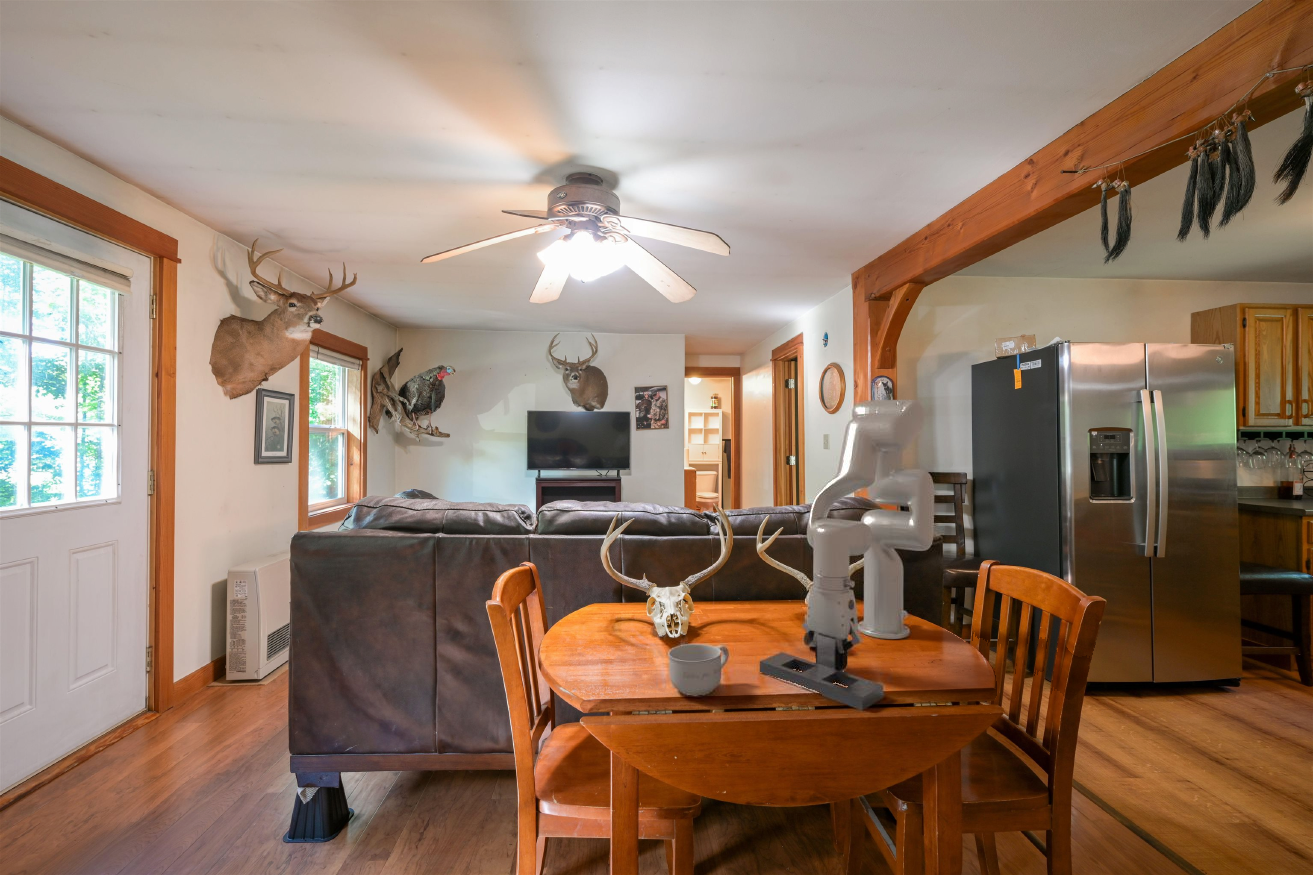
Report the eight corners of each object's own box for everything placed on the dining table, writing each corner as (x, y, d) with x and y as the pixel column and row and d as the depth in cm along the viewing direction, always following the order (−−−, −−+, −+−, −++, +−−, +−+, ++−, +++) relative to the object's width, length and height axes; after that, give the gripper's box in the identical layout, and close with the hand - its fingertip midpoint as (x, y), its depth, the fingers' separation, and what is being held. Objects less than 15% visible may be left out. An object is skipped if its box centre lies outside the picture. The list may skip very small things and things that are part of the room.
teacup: (682, 706, 115) (682, 664, 115) (659, 684, 125) (659, 645, 125) (745, 693, 121) (745, 653, 121) (718, 673, 131) (718, 636, 131)
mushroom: (840, 644, 139) (830, 618, 142) (807, 655, 140) (797, 629, 144) (844, 650, 145) (834, 625, 149) (812, 661, 147) (803, 635, 150)
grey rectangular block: (827, 666, 135) (827, 627, 134) (844, 671, 131) (844, 632, 131) (817, 671, 132) (817, 631, 132) (834, 676, 129) (834, 636, 129)
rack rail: (759, 672, 131) (759, 661, 131) (781, 663, 136) (781, 651, 136) (862, 710, 113) (862, 697, 113) (883, 697, 119) (883, 684, 119)
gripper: (876, 586, 128) (876, 672, 128) (807, 572, 140) (807, 651, 140) (857, 592, 123) (857, 682, 123) (788, 577, 135) (788, 659, 135)
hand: (831, 665), depth 132 cm, fingers closed on grey rectangular block, 4 cm apart
